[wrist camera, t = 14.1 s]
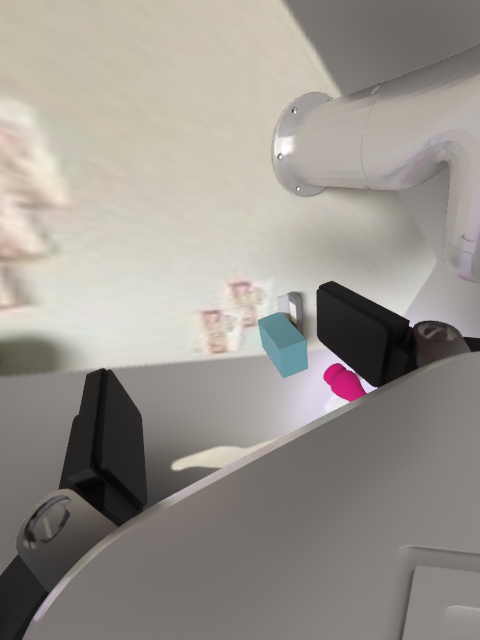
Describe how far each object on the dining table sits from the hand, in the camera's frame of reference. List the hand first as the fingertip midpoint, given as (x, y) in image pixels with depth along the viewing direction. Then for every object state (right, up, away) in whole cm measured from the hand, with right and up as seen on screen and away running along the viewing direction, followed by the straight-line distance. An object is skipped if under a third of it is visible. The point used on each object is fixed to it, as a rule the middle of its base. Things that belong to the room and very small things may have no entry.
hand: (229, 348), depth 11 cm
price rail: (+11, +1, +42) cm, 44 cm away
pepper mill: (+26, -13, +57) cm, 64 cm away
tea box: (+7, -1, +41) cm, 42 cm away
